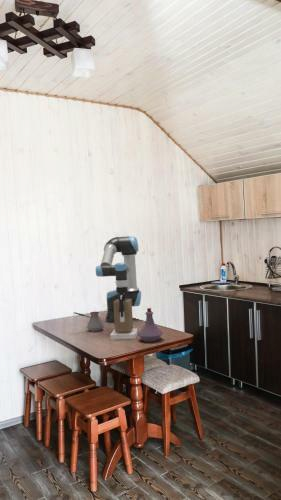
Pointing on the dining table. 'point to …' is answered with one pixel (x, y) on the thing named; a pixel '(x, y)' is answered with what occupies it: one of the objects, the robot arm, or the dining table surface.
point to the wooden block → (128, 323)
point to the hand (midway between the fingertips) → (123, 319)
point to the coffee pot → (93, 322)
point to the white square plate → (124, 334)
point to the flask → (150, 329)
